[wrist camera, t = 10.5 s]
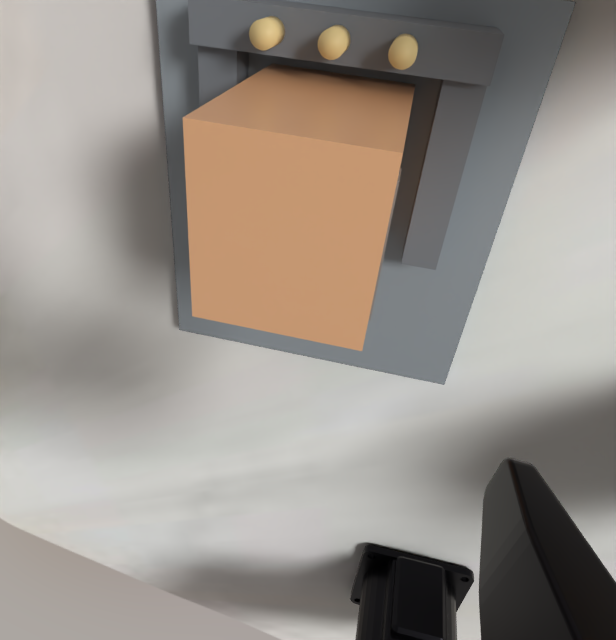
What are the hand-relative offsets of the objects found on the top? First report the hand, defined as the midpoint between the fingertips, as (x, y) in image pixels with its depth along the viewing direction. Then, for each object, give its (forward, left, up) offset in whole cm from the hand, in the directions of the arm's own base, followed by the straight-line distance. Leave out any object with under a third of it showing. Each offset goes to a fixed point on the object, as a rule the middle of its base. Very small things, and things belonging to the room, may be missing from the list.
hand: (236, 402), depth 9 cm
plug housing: (+1, 0, -11) cm, 11 cm away
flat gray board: (-1, 0, -12) cm, 12 cm away
